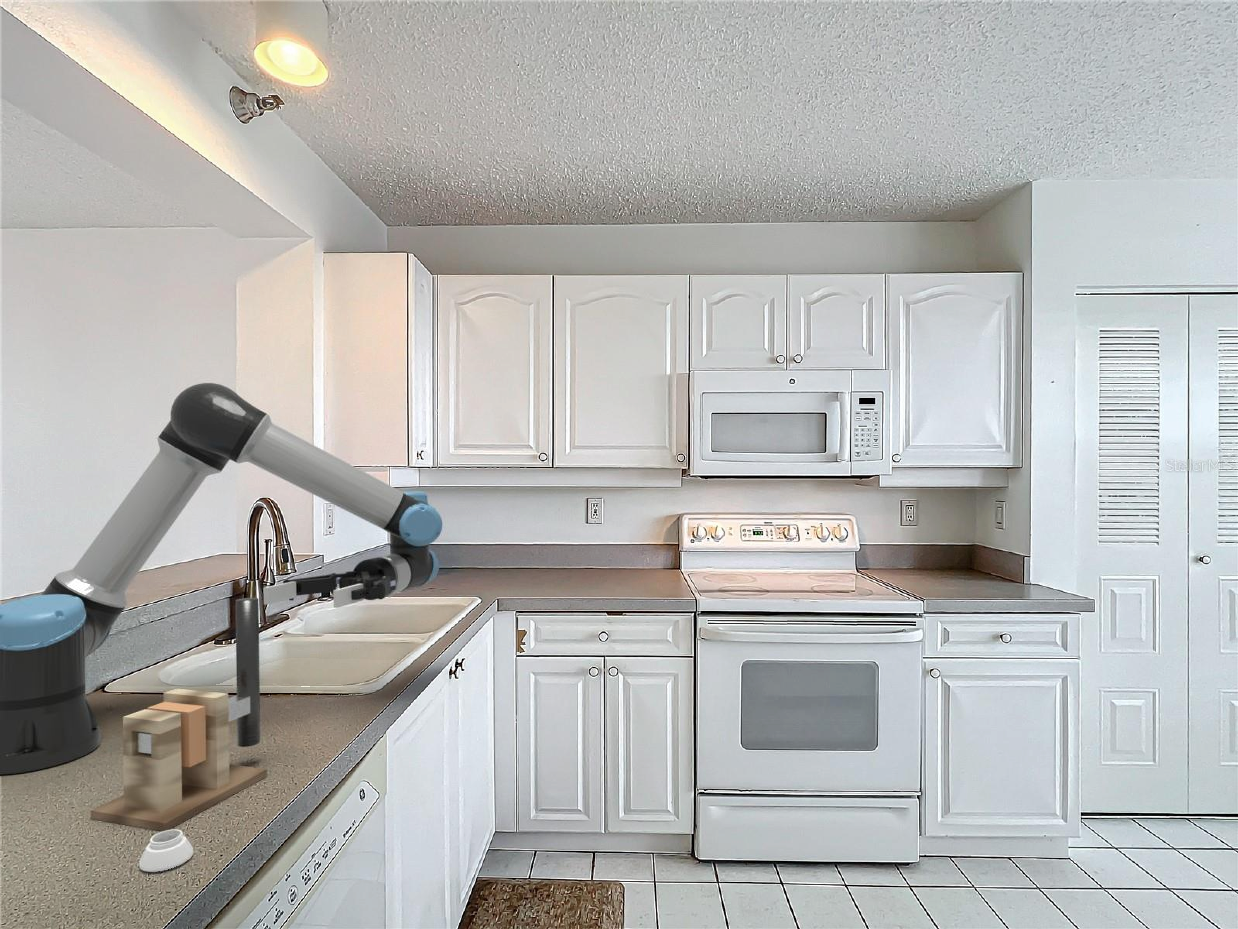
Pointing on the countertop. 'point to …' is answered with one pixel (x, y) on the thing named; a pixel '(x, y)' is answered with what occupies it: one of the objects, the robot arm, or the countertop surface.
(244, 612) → the crank handle
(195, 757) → the spacer
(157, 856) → the lidless jar
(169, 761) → the bearing stand
